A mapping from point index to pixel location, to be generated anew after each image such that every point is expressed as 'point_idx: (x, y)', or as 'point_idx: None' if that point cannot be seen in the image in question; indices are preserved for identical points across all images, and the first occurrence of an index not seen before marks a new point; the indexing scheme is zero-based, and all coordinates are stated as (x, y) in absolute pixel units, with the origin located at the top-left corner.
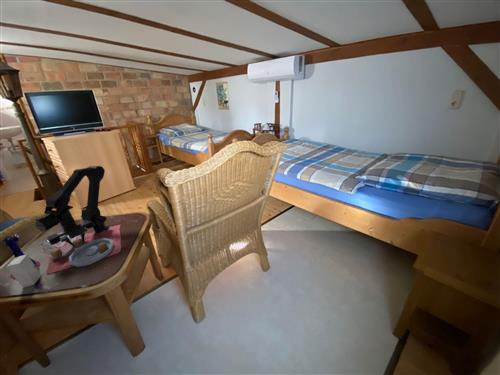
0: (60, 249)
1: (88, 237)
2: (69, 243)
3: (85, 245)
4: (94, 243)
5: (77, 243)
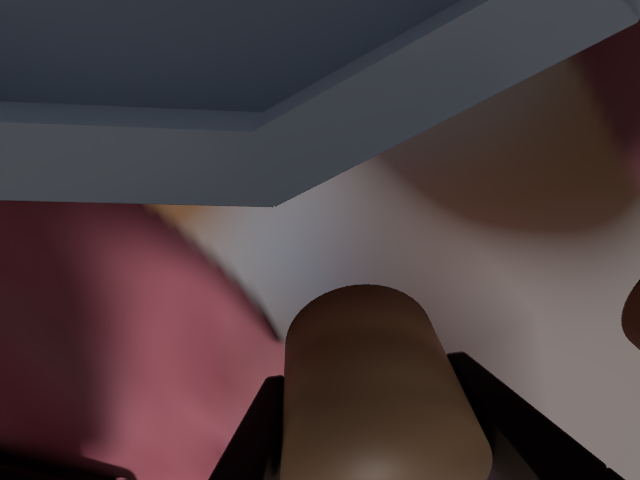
0: None
1: (210, 467)
2: (613, 473)
3: (238, 123)
4: (2, 97)
5: (405, 376)
